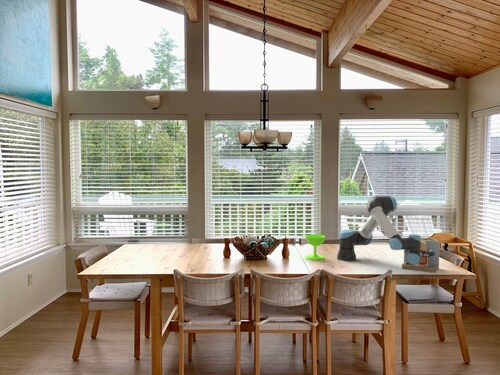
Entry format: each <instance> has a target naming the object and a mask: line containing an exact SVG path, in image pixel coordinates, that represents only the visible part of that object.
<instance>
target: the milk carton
mask: <svg viewBox="0 0 500 375" xmlns="http://www.w3.org/2000/svg"><path fill="white" fill-rule="evenodd" d="M425 240H426V239H422V238H421V248H420V251H423V252H427V245H426V242H425ZM415 265H417V266H428V257H426V256H424V257H422V259H421V260H420V261H419V263H417V264H415Z"/></svg>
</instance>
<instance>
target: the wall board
mask: <svg viewBox="0 0 500 375" xmlns="http://www.w3.org/2000/svg"><path fill="white" fill-rule="evenodd" d="M424 240H425V242H426V245H427V252H429V251H430V250H431V252H435V256H430V257H428V266H417V265H413V264H410V263H409V262H408V260H407V257H408V255H407V254H406V253H405V249H404V250H403V263H402V264H401V269H402V268H404V270H410V269H411V271H418V270H420V271H419V272H426V271H427V273H436V272H437V271H438V270H439V269H440V247H441V243H440V240H439V241H438V240H437V241H436V240H429V239H424Z"/></svg>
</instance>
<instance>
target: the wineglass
mask: <svg viewBox="0 0 500 375" xmlns="http://www.w3.org/2000/svg"><path fill="white" fill-rule="evenodd" d="M305 240H306V242H307V243H308V244H309V245H310V246H312V247H313V254H308V255H306V256H305V257H304V259H306V260H311V261H324V260H325V257H324V256H322V255H319V254H317V247H319V246H321V245H322V244H323V243H324V242H325V240H326V236H325V235H321V234H307V235H305Z"/></svg>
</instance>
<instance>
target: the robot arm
mask: <svg viewBox="0 0 500 375" xmlns="http://www.w3.org/2000/svg"><path fill="white" fill-rule="evenodd" d="M397 203H398V202H397V200H396V198H395V197H393V195H375V196H372V197H370V198H369V199H368V201H367V203H366V208H367V212H368V214H369V215H370V216H369V217H368V218H367V220H366V221H365V223H364V224H363V225H362V226H361V227H359V228H358V229H357V230H354V229H352V228H351V229H343V230H341V231H340V232H339V236H338V237H339V244H338V246H339V249H338V252H337V255H336V259H338V260H339V261H345V262H347V261H349V262H350V261H351V262H352V261H353V262H354V261H356V260H357V255H356V252H355V246H368V245H370V244H371V243H372V242H373V238H374V237H373V233H374V231H375V229H376V228H377V227H378V226H379V227H380V229H381V230H382V231H383V233H384V234H385V235H386V237H387V239H388V240H389V241H388V244H389V248H390V250H392V251H402V250H403V251H404V249H405V253H406V254H407V255H408V257H407V260H408V262H409V263H410V264H413V265H415V264H417V263H419V261H420V260H421V259H422V257H424V256H426V257H430V256H435V252H431V250H430V251H429V252H423V251H420V248H421V239H422V238H421V237H422V236H421V235H419V234H414V233H413V234H412V233H410V234H408V237H402V236H401V235H400V233H399V232H398V231H397V229H396V228H395V226H394V225H393V223H392V222H391V220H389V218H388V217H387V216H389V214H390V213H392V212H396V210H397V208H398V204H397Z"/></svg>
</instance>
